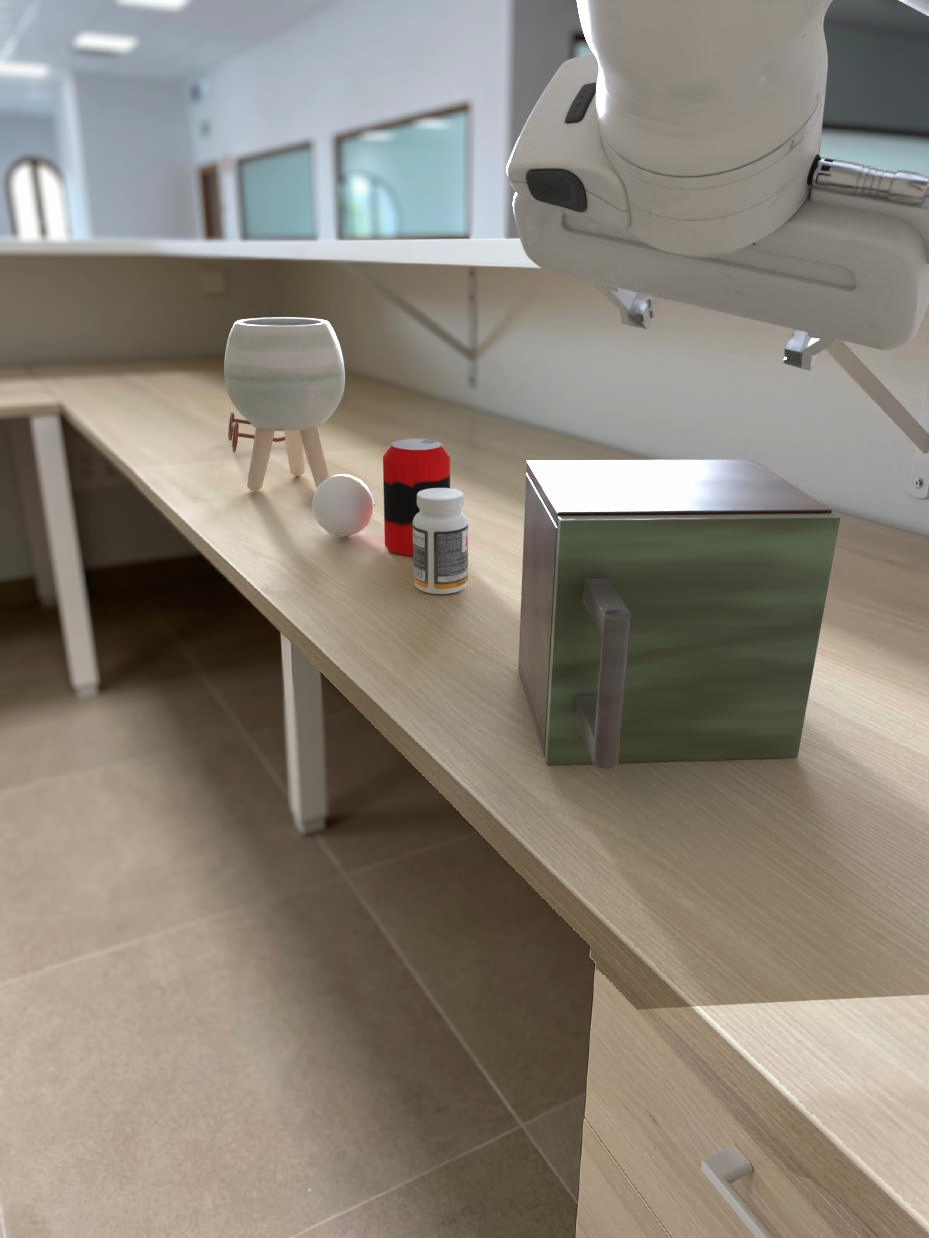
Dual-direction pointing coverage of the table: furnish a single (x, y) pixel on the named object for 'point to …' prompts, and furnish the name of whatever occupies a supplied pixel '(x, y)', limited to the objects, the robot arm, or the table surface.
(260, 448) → the planter
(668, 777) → the table surface
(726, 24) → the robot arm
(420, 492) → the pill bottle
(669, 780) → the table surface
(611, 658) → the cupboard door
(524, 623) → the cupboard
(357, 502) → the white ovoid
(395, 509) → the soda can
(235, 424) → the glasses
